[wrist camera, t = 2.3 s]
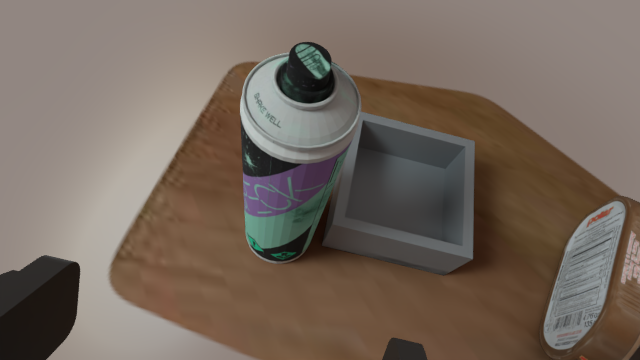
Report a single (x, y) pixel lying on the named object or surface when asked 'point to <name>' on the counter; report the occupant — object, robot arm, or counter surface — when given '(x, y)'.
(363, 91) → the counter surface
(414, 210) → the box
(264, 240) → the spray can
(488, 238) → the counter surface
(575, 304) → the tin
